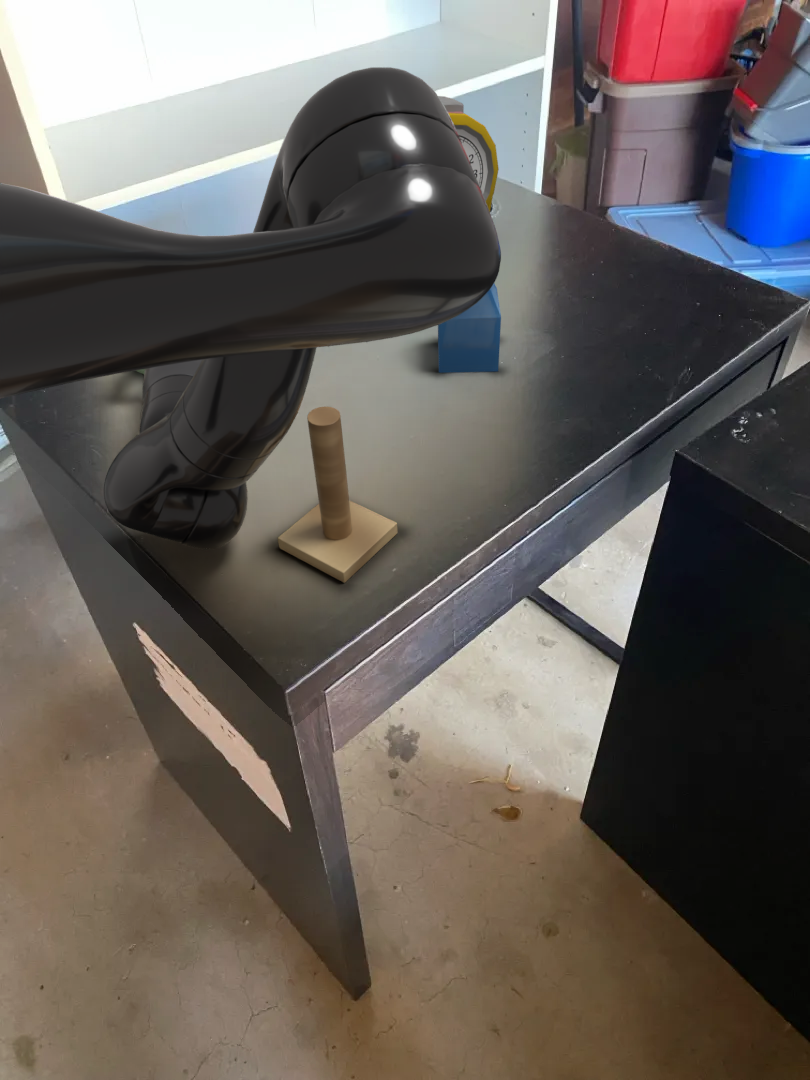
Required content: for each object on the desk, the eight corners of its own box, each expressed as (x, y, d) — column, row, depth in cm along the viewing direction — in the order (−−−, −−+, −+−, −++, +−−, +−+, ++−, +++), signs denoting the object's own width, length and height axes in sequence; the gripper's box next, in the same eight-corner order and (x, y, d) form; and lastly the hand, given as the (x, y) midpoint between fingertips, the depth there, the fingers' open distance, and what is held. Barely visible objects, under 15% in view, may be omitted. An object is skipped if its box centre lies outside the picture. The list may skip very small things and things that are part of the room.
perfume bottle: (498, 371, 86) (503, 261, 78) (438, 372, 86) (438, 263, 78) (494, 340, 91) (499, 233, 82) (438, 342, 91) (437, 235, 83)
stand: (344, 583, 65) (329, 457, 56) (278, 548, 68) (255, 423, 59) (398, 533, 69) (391, 407, 60) (333, 502, 72) (318, 378, 63)
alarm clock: (395, 277, 102) (388, 118, 90) (366, 253, 108) (356, 99, 95) (497, 250, 107) (504, 95, 94) (465, 228, 112) (467, 78, 100)
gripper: (258, 336, 74) (255, 256, 86) (94, 353, 73) (115, 270, 85) (271, 406, 79) (266, 321, 91) (118, 424, 78) (134, 335, 90)
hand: (193, 297), depth 88 cm, fingers closed on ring, 6 cm apart
